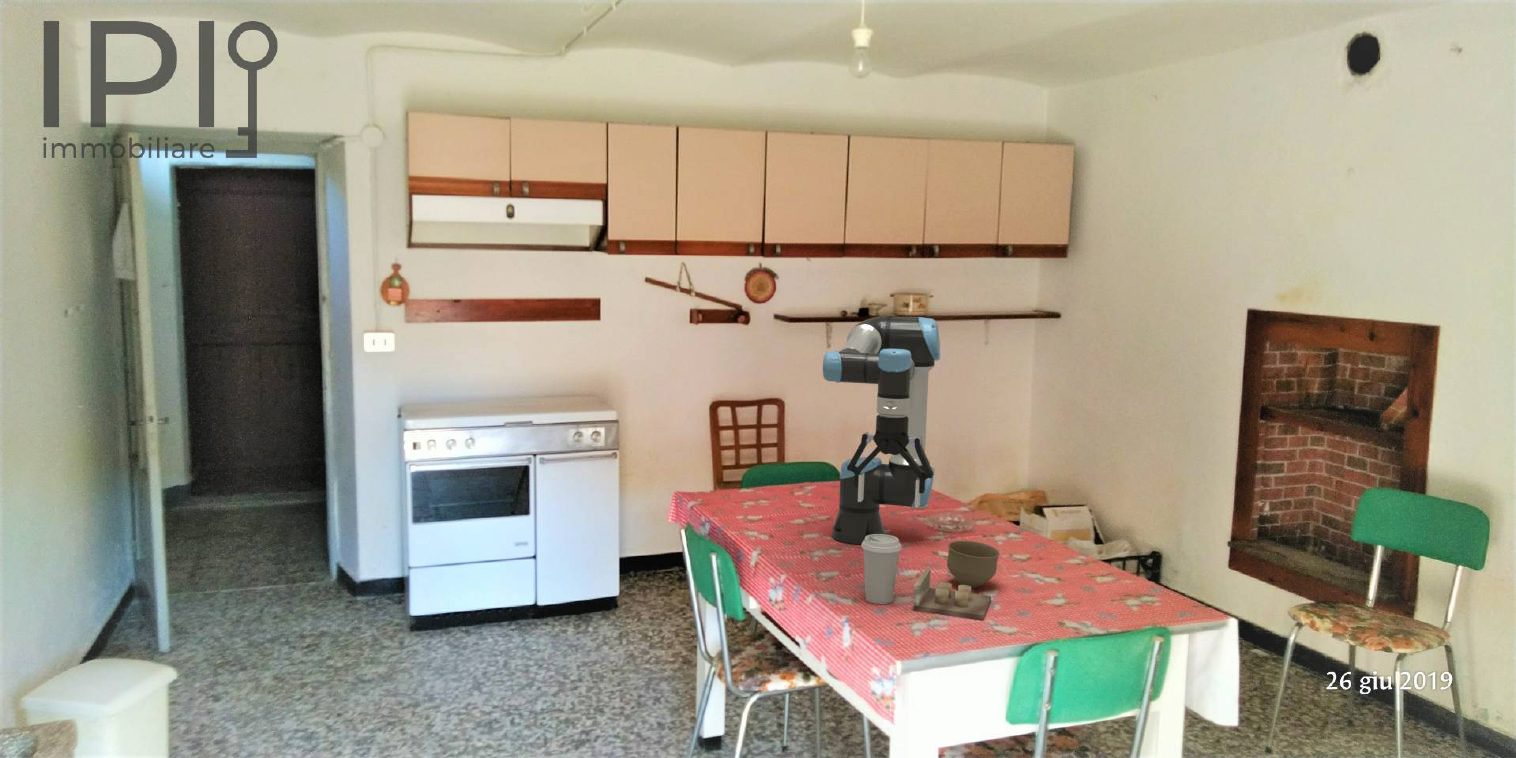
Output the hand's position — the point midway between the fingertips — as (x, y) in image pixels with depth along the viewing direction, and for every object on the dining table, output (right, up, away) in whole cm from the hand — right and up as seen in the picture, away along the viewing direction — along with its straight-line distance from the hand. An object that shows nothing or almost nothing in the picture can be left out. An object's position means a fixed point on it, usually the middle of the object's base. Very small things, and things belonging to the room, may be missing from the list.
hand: (888, 503), depth 240 cm
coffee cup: (-2, -23, +2) cm, 23 cm away
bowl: (+23, -23, +14) cm, 35 cm away
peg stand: (+15, -24, -1) cm, 28 cm away
